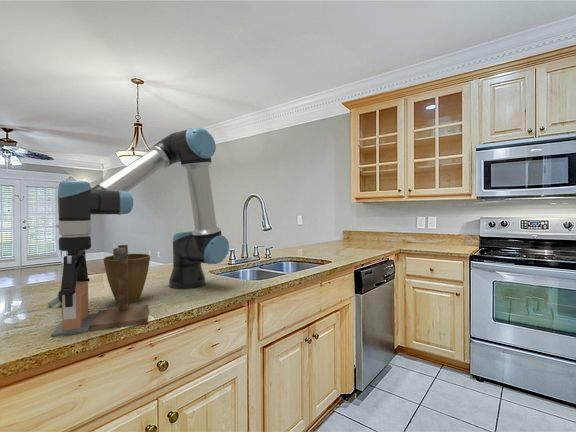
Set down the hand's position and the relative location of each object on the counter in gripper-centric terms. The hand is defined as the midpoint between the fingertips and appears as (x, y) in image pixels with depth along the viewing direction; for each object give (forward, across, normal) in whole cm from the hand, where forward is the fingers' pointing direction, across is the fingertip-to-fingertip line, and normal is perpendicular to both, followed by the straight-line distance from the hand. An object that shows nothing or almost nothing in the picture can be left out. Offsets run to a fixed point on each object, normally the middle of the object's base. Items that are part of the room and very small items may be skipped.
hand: (76, 311), depth 87 cm
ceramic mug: (+4, -25, -7) cm, 26 cm away
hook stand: (+4, 0, +12) cm, 12 cm away
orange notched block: (+3, 0, 0) cm, 3 cm away
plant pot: (+4, -21, +12) cm, 24 cm away
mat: (+4, 0, 0) cm, 4 cm away
